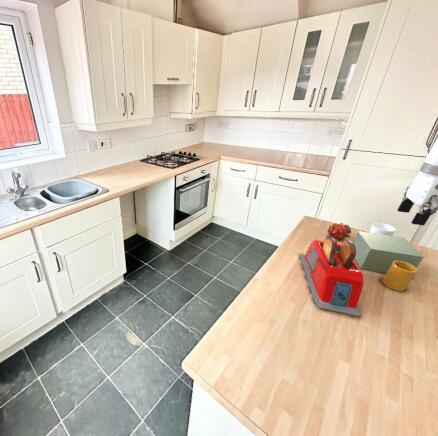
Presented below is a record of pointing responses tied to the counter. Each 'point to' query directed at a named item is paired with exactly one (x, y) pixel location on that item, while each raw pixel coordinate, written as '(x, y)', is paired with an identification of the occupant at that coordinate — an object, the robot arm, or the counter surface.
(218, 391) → the counter surface
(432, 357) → the counter surface
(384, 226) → the white cup
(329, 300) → the toaster
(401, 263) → the cup
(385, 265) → the shelf
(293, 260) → the counter surface
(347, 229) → the dragon fruit
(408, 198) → the robot arm
